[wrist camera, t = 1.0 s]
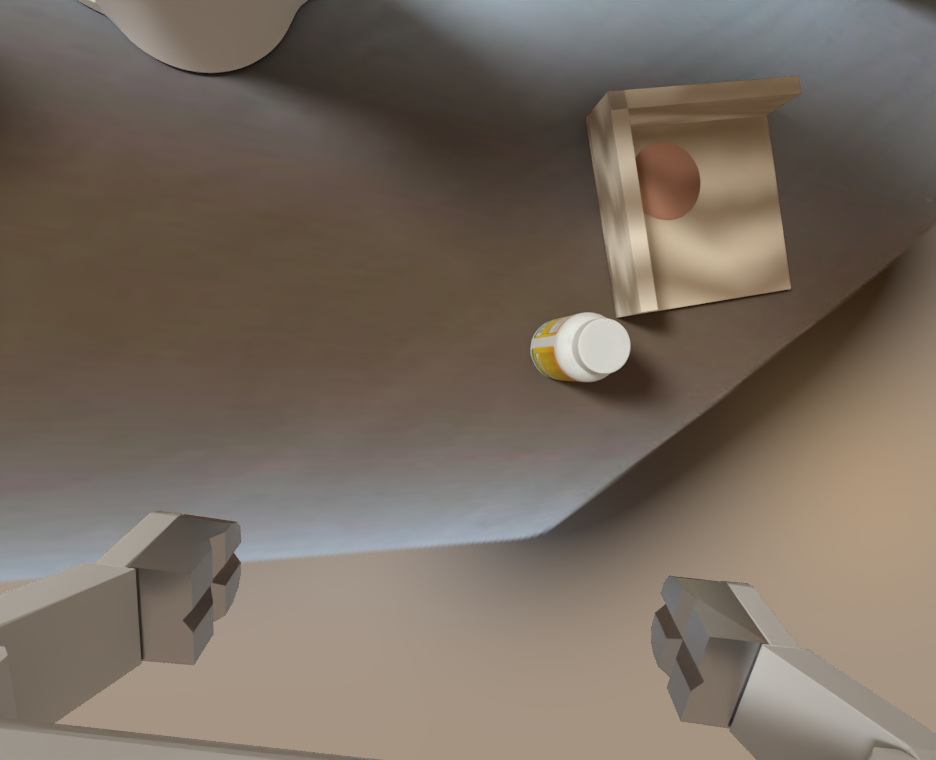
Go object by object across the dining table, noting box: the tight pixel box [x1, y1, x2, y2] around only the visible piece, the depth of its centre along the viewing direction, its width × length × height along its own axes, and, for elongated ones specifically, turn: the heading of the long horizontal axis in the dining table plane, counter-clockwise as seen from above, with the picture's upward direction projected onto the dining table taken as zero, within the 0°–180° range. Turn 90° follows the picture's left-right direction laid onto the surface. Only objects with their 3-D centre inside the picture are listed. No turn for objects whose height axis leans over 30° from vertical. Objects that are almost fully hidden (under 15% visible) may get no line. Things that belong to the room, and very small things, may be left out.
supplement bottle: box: [531, 312, 630, 382], centre depth 42 cm, size 5×5×10 cm
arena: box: [585, 76, 801, 318], centre depth 46 cm, size 18×18×4 cm
